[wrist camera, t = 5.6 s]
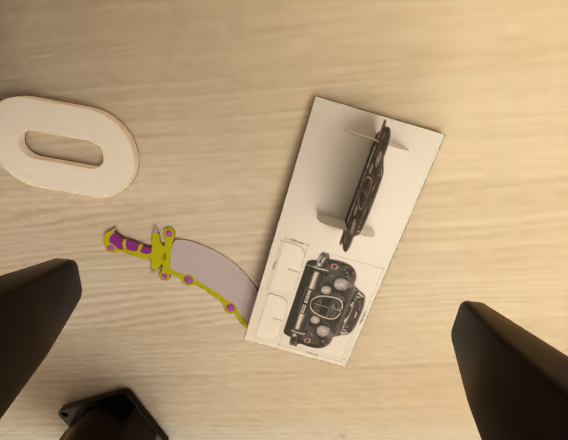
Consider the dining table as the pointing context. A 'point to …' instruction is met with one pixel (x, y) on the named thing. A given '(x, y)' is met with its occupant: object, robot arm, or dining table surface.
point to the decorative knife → (193, 268)
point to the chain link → (74, 124)
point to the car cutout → (339, 229)
